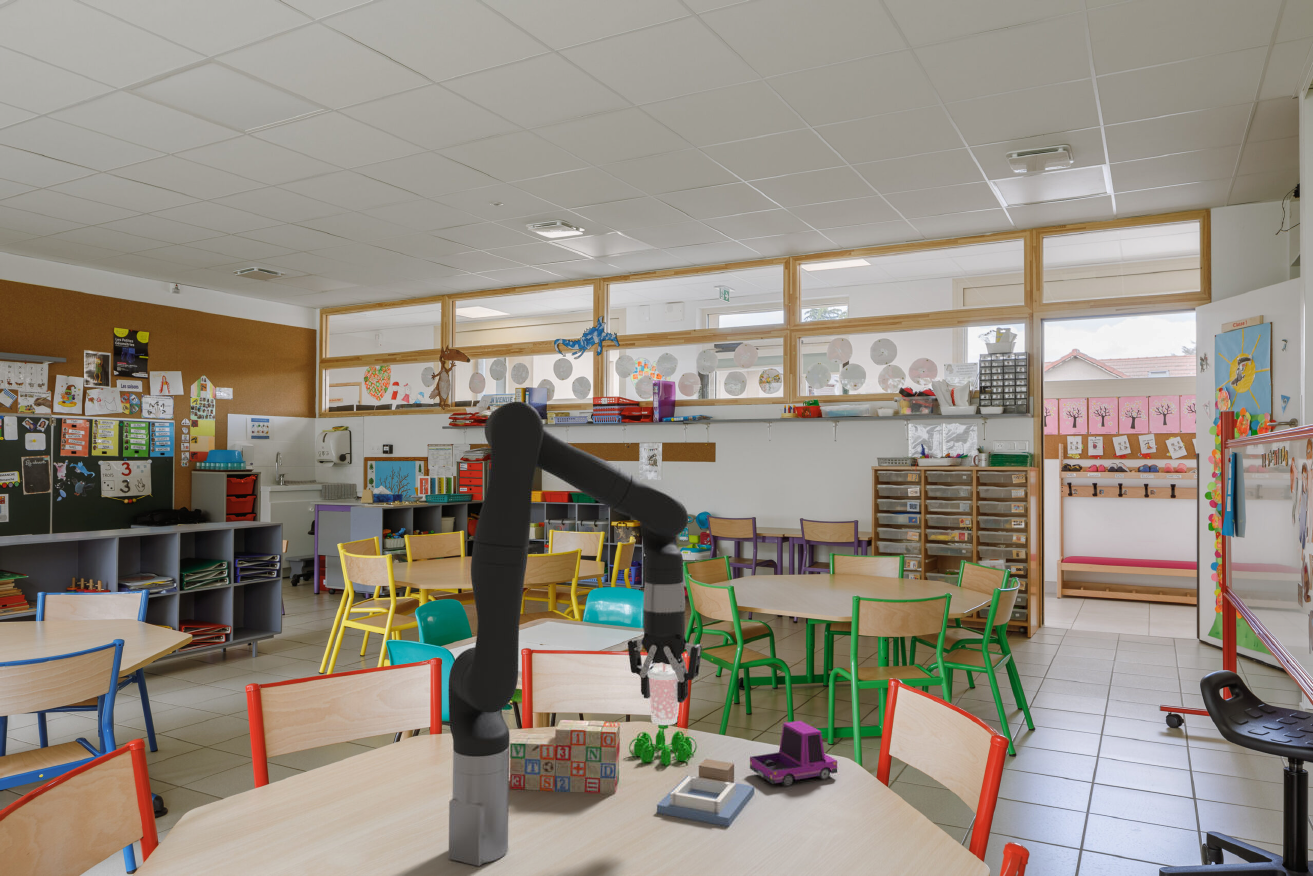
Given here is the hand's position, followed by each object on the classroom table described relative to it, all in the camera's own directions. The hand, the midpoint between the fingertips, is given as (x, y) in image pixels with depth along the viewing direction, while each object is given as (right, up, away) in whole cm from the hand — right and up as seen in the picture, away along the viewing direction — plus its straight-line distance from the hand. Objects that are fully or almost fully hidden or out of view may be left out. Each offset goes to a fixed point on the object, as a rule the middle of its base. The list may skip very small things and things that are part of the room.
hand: (664, 699), depth 152 cm
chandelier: (0, -23, +34) cm, 41 cm away
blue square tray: (+8, -22, +8) cm, 25 cm away
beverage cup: (0, -4, 0) cm, 4 cm away
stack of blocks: (-20, -23, +16) cm, 34 cm away
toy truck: (+27, -23, +22) cm, 42 cm away
